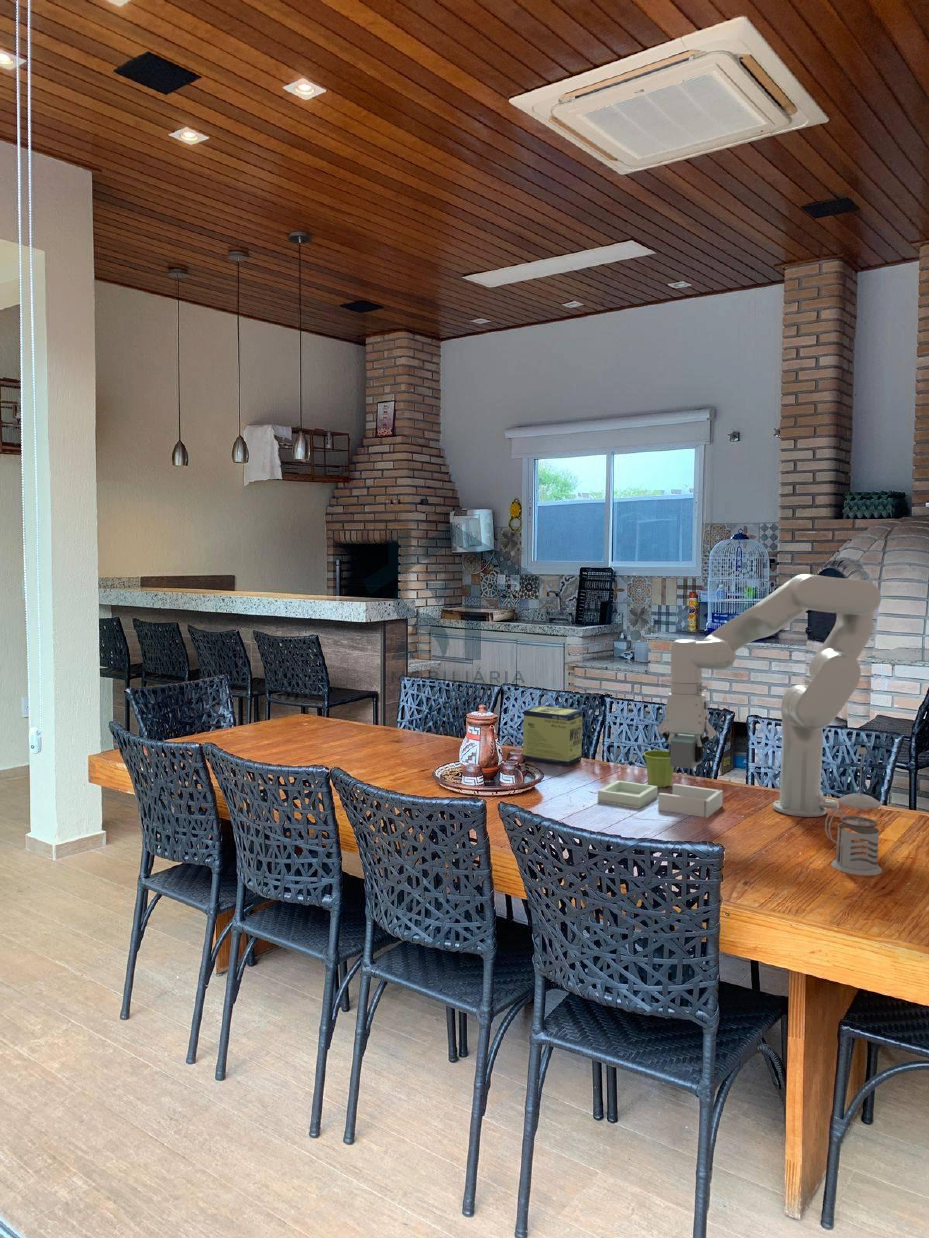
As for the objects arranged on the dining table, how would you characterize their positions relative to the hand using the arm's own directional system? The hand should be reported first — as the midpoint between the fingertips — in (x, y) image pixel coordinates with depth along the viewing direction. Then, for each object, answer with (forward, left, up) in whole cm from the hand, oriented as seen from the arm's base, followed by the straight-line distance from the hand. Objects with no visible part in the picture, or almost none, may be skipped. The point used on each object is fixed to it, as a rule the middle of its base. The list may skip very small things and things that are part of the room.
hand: (686, 759), depth 235 cm
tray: (+15, +1, -12) cm, 19 cm away
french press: (-43, +25, -12) cm, 52 cm away
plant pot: (+13, -18, -12) cm, 25 cm away
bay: (-2, 0, -12) cm, 12 cm away
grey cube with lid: (0, 0, -1) cm, 1 cm away
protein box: (+51, -28, -12) cm, 59 cm away
